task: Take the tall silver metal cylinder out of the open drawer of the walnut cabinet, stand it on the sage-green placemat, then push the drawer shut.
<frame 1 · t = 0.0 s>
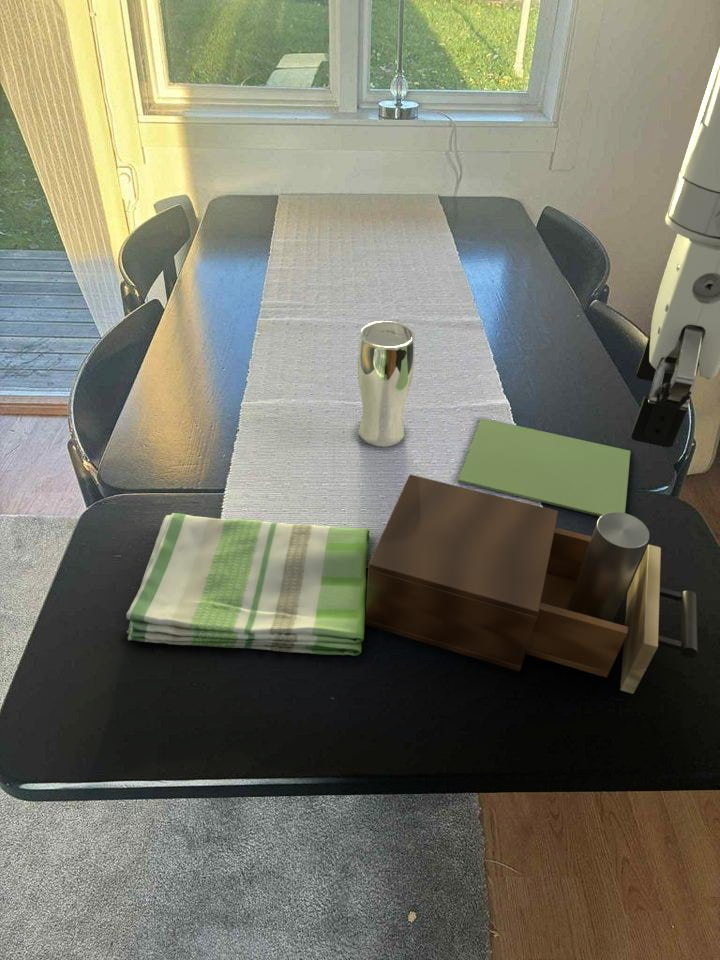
hand: (652, 409, 60), 23 cm above the table, tool pointing down, fingers open, 9 cm apart
beer glass: (381, 434, 94), on the table
drawer: (591, 603, 67), point 5 cm above the table, slide at 9.0 cm, touching silver metal cylinder
silver metal cylinder: (587, 620, 69), point 2 cm above the table, touching drawer
dish towel: (257, 587, 74), on the table
placemat: (546, 467, 90), on the table
cabinet: (456, 596, 73), on the table
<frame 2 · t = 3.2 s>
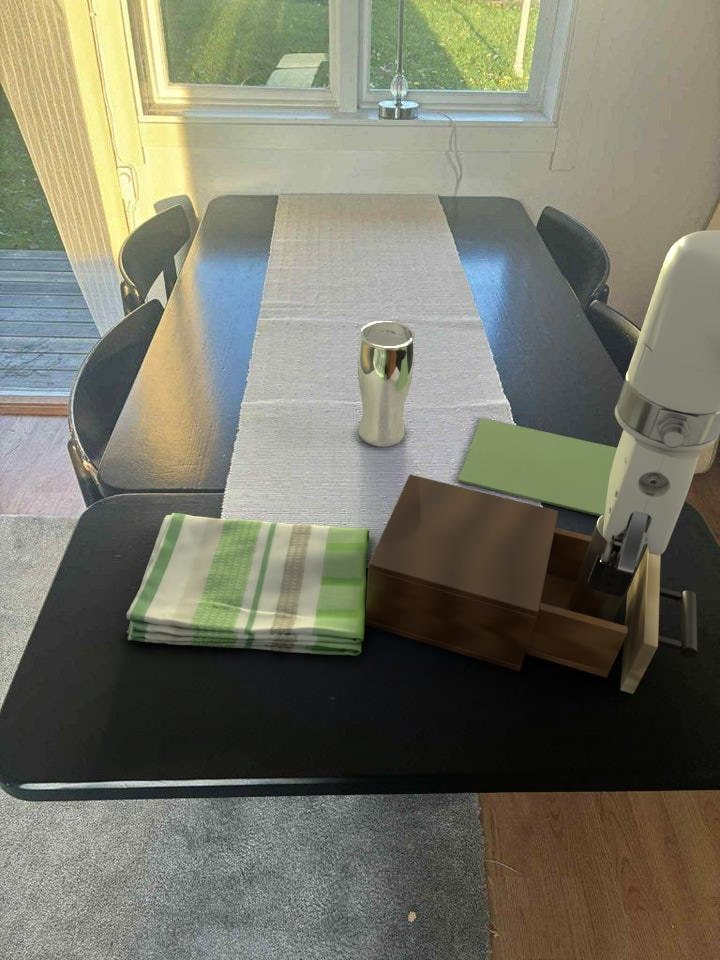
hand: (607, 568, 64), 10 cm above the table, tool pointing down, fingers closed on silver metal cylinder, 4 cm apart
silver metal cylinder: (587, 620, 69), point 2 cm above the table, touching drawer, gripper
everything else where it was.
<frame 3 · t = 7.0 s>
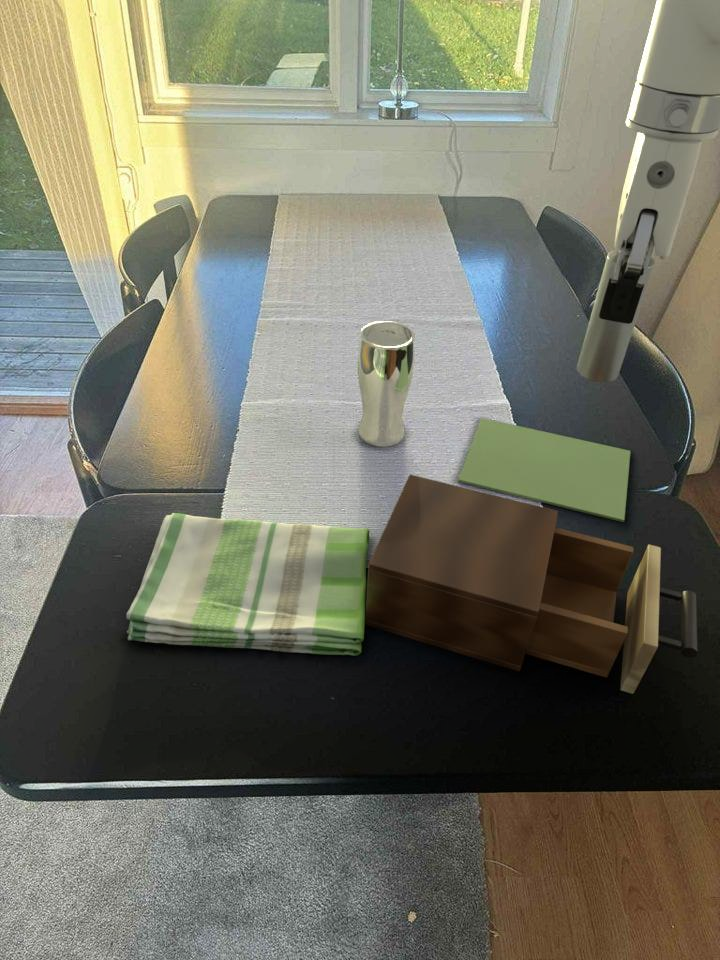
hand: (617, 306, 70), 25 cm above the table, tool pointing down, fingers closed on silver metal cylinder, 4 cm apart
drawer: (591, 603, 67), point 5 cm above the table, slide at 9.0 cm
silver metal cylinder: (597, 371, 76), point 17 cm above the table, touching gripper
everything else where it was.
when the fingers open (8 cm above the table, at t = 11.1 s): silver metal cylinder stays where it is, resting on placemat.
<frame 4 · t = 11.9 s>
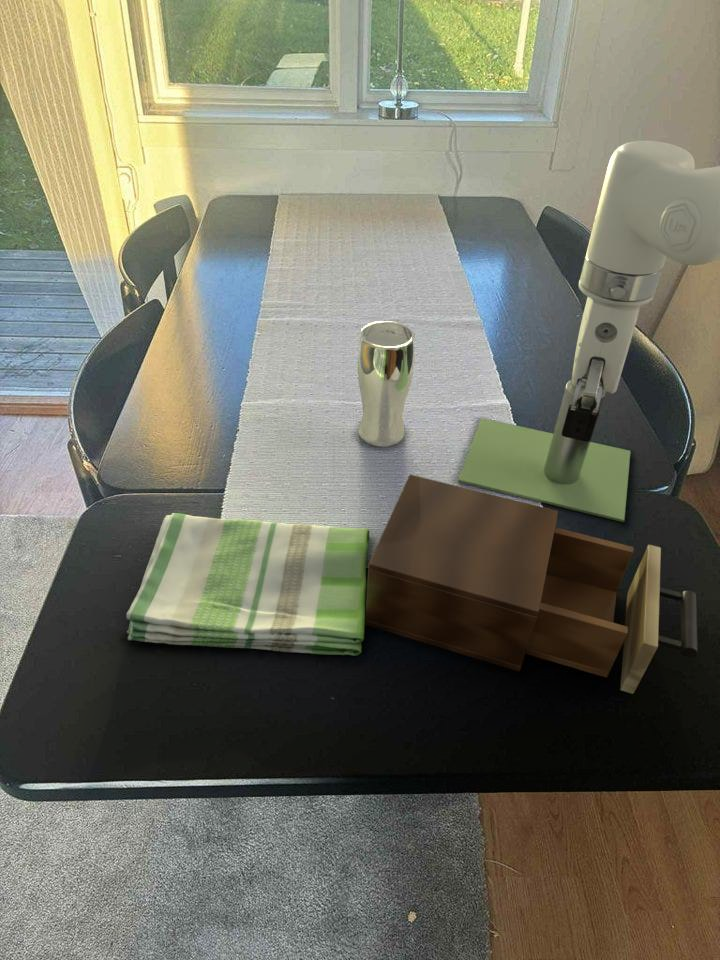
hand: (579, 414, 82), 10 cm above the table, tool pointing down, fingers open, 9 cm apart
silver metal cylinder: (561, 472, 88), resting on placemat
everything else where it was.
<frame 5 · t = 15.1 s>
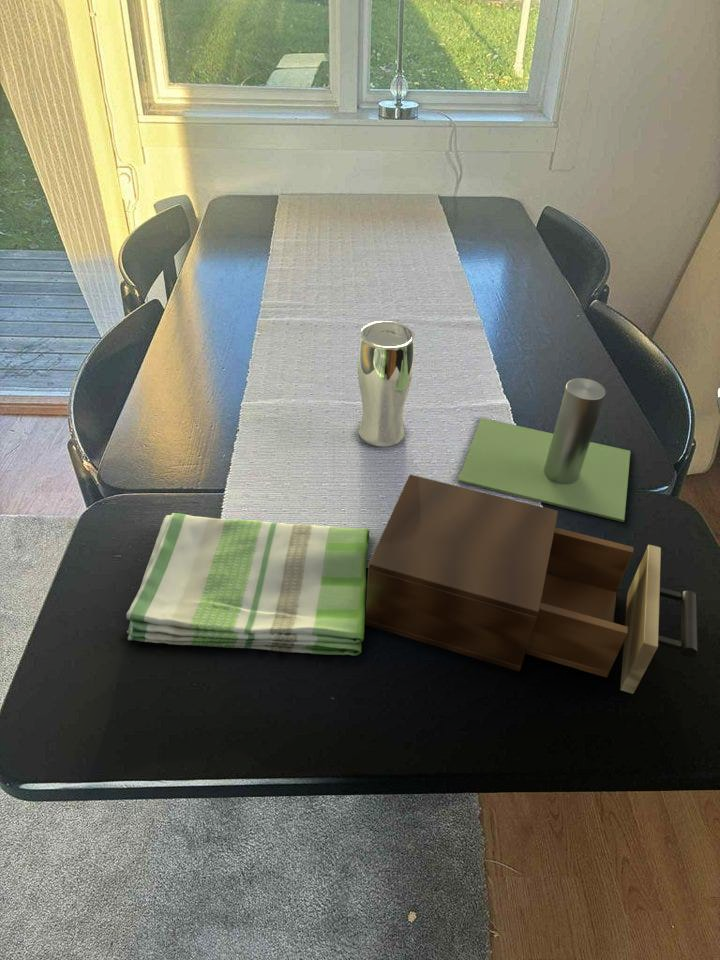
nothing on the table moved.
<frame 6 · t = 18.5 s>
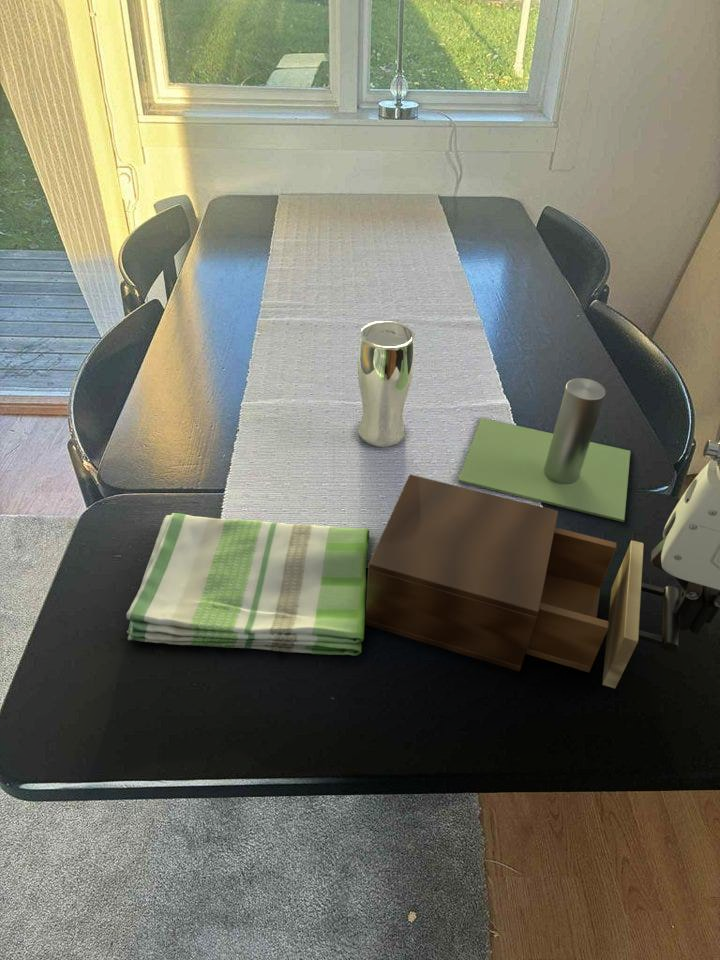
hand: (688, 619, 65), 6 cm above the table, tool pointing down, fingers closed
drawer: (574, 598, 68), point 5 cm above the table, slide at 7.4 cm, touching gripper
everything else where it was.
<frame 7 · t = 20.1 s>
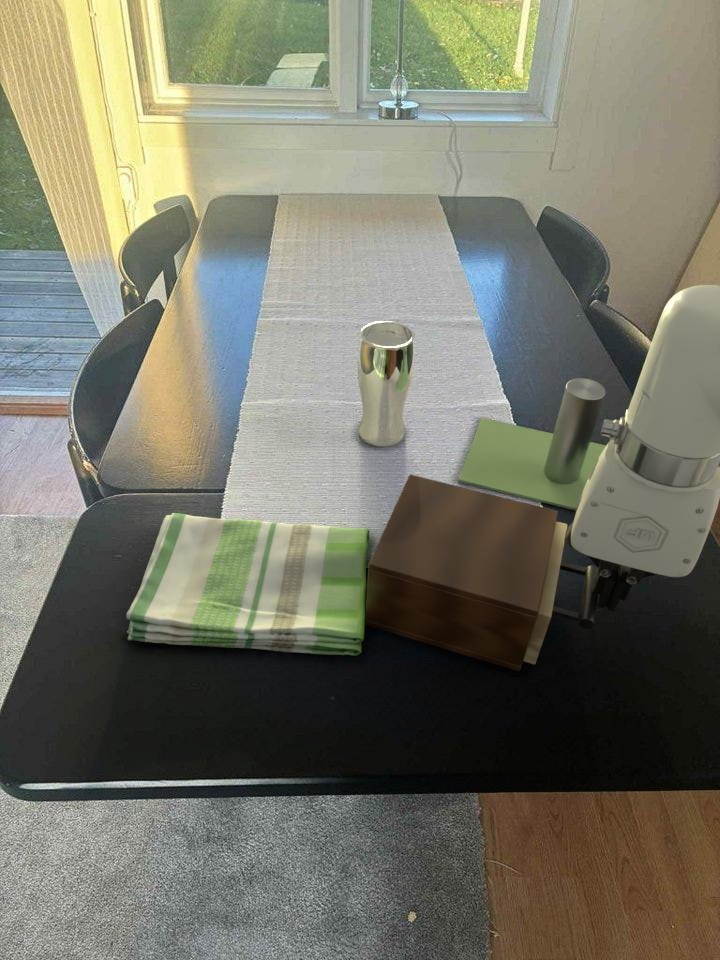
hand: (606, 597, 66), 6 cm above the table, tool pointing down, fingers closed
drawer: (499, 577, 69), point 5 cm above the table, slide at 0.0 cm, touching cabinet, gripper
everything else where it was.
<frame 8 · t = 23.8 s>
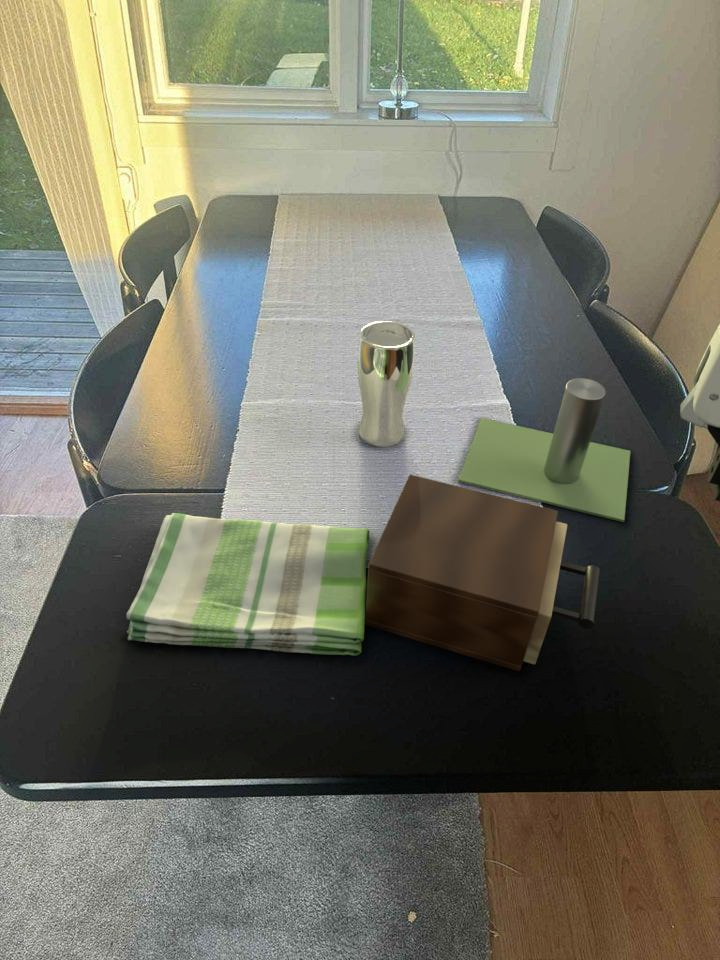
drawer: (499, 577, 69), point 5 cm above the table, slide at 0.0 cm, touching cabinet
everything else where it was.
at the end: silver metal cylinder inside the target area on the placemat (2.1 cm from its centre), point 0.4 cm above the placemat's base; silver metal cylinder tilted 0°; drawer slide at 0.0 cm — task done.
